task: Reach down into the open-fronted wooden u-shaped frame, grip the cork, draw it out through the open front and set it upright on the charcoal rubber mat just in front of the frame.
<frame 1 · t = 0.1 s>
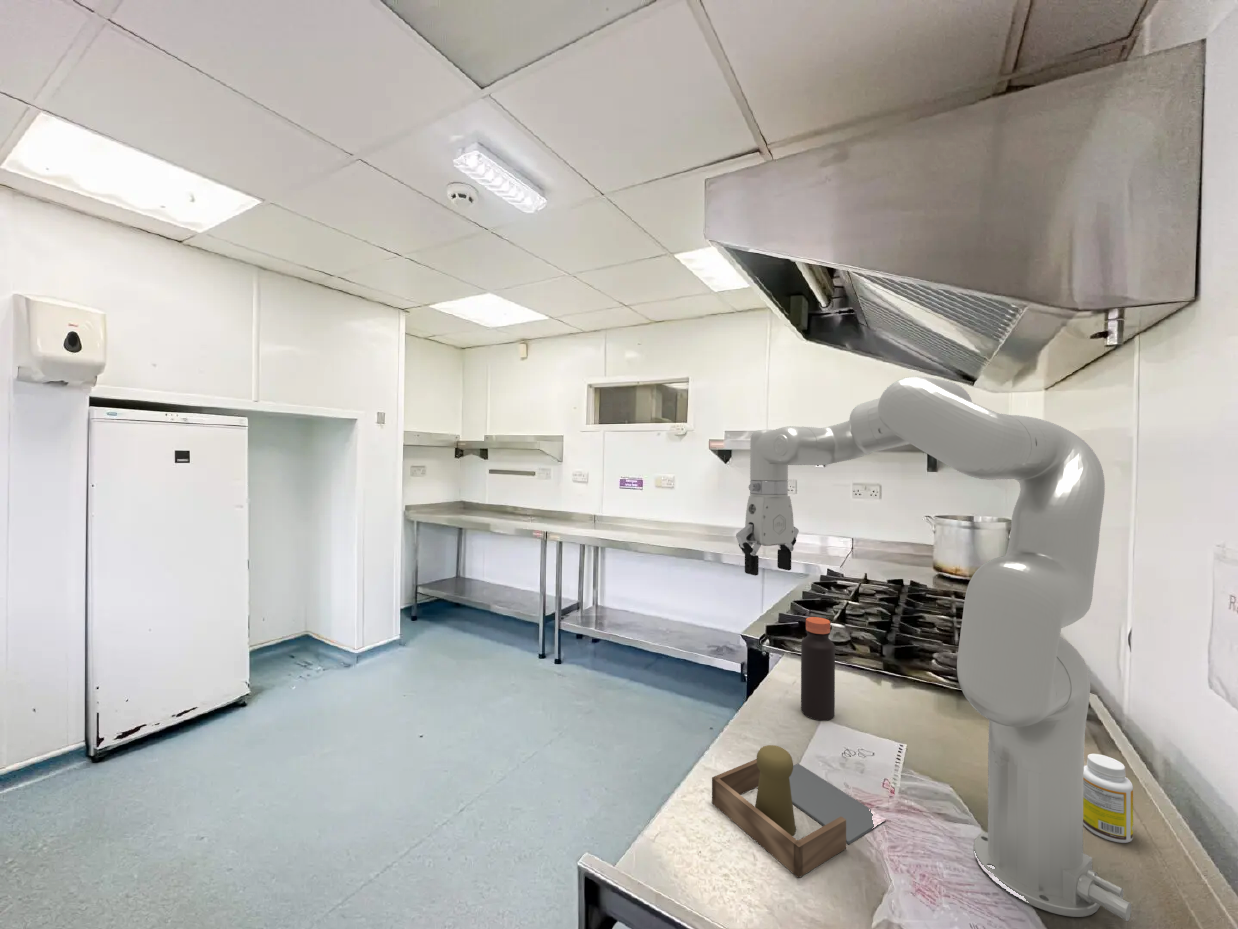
hand: (768, 571, 103), 31 cm above the counter, fingers open, 9 cm apart
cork: (774, 826, 74), on the counter
supplement bottle: (1105, 832, 73), on the counter
vinegar: (817, 714, 107), on the counter
charcoal mat: (820, 800, 79), on the counter
wooden u-shaped frame: (776, 823, 74), on the counter
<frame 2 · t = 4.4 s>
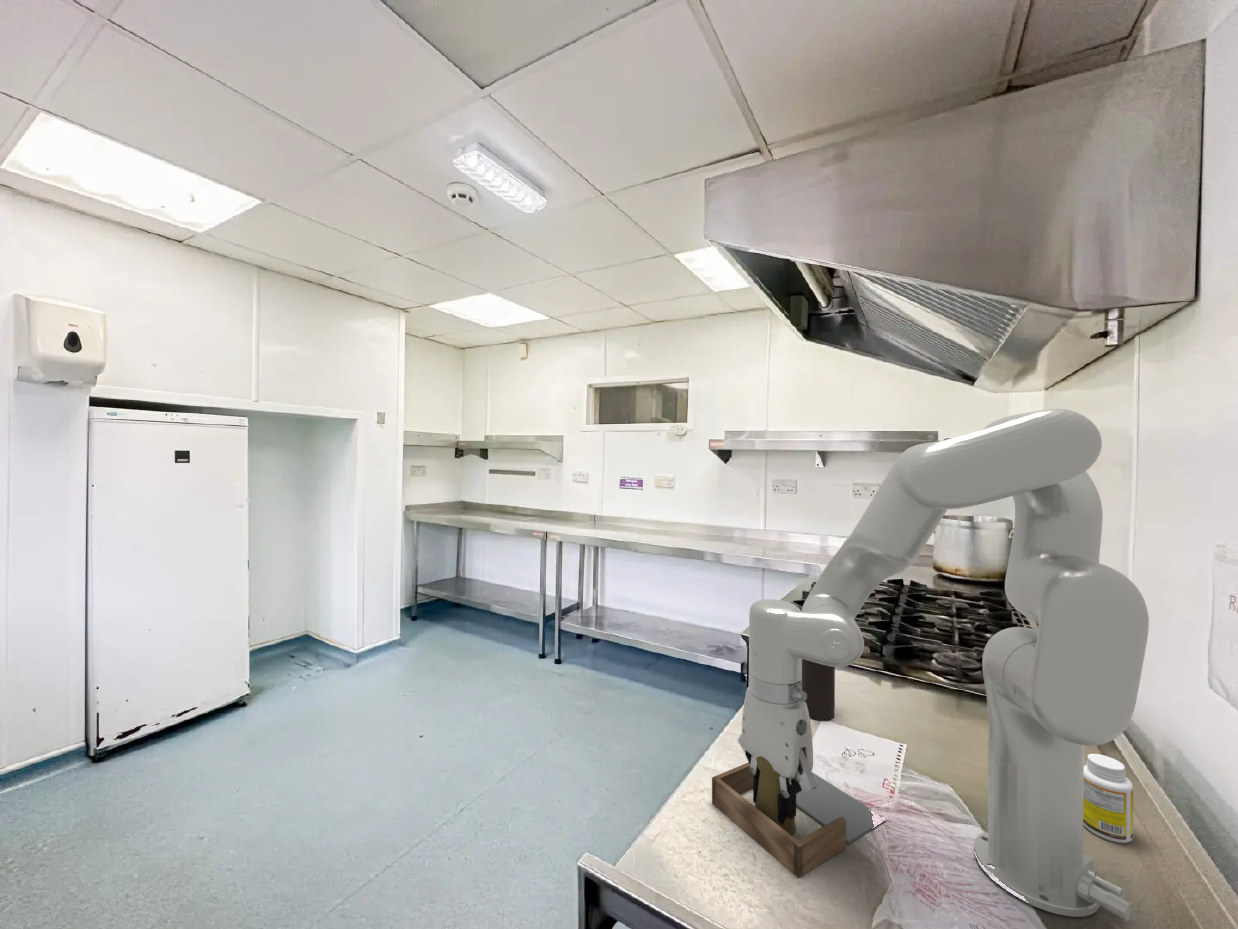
hand: (774, 808, 74), 2 cm above the counter, fingers closed on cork, 4 cm apart
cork: (774, 826, 74), on the counter, touching gripper
everything else where it was.
when the fingers open (4 cm above the counter, at t = 7.6 s): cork stays where it is, resting on charcoal mat.
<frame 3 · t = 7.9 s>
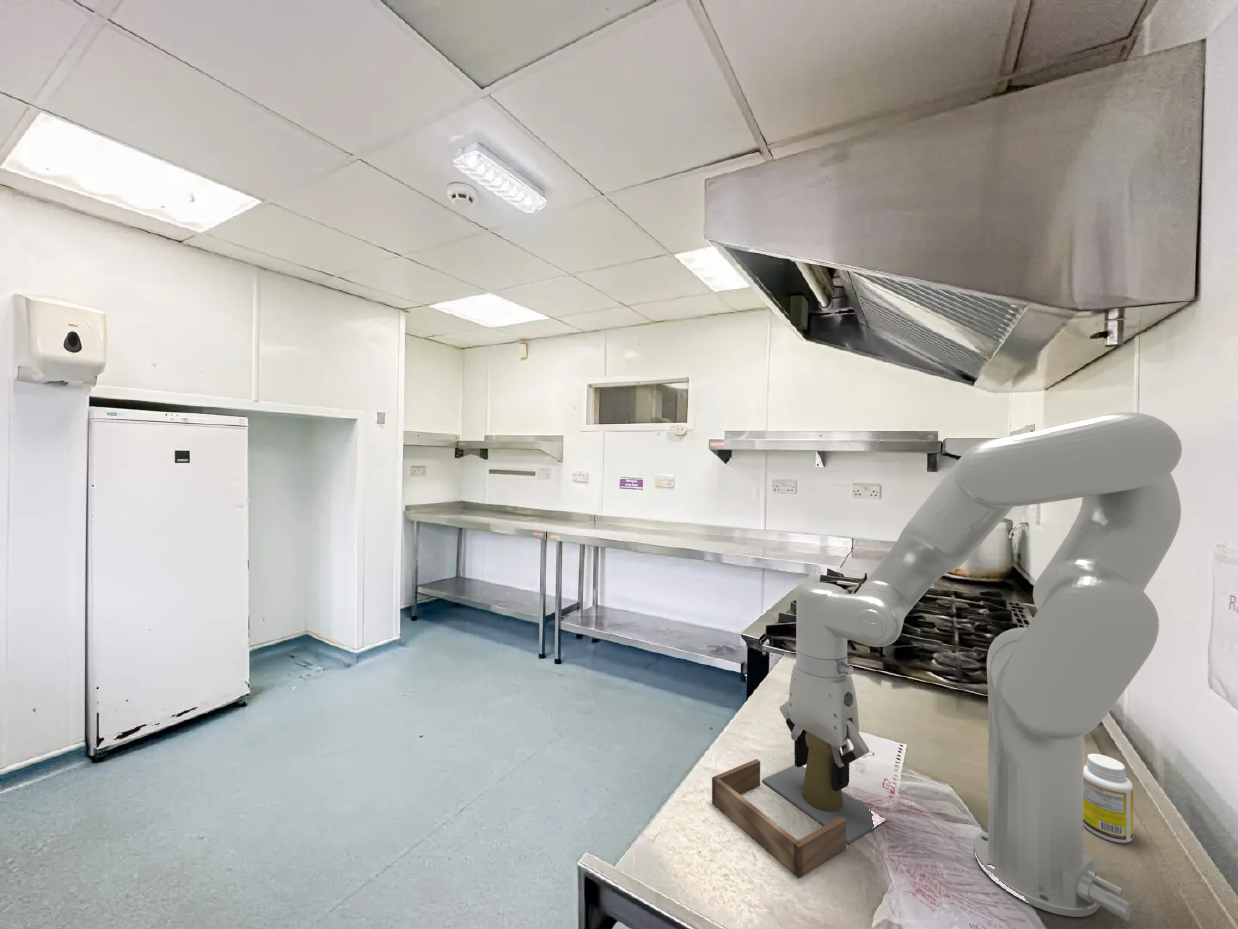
hand: (820, 774, 79), 4 cm above the counter, fingers open, 6 cm apart
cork: (822, 799, 79), resting on charcoal mat
everything else where it was.
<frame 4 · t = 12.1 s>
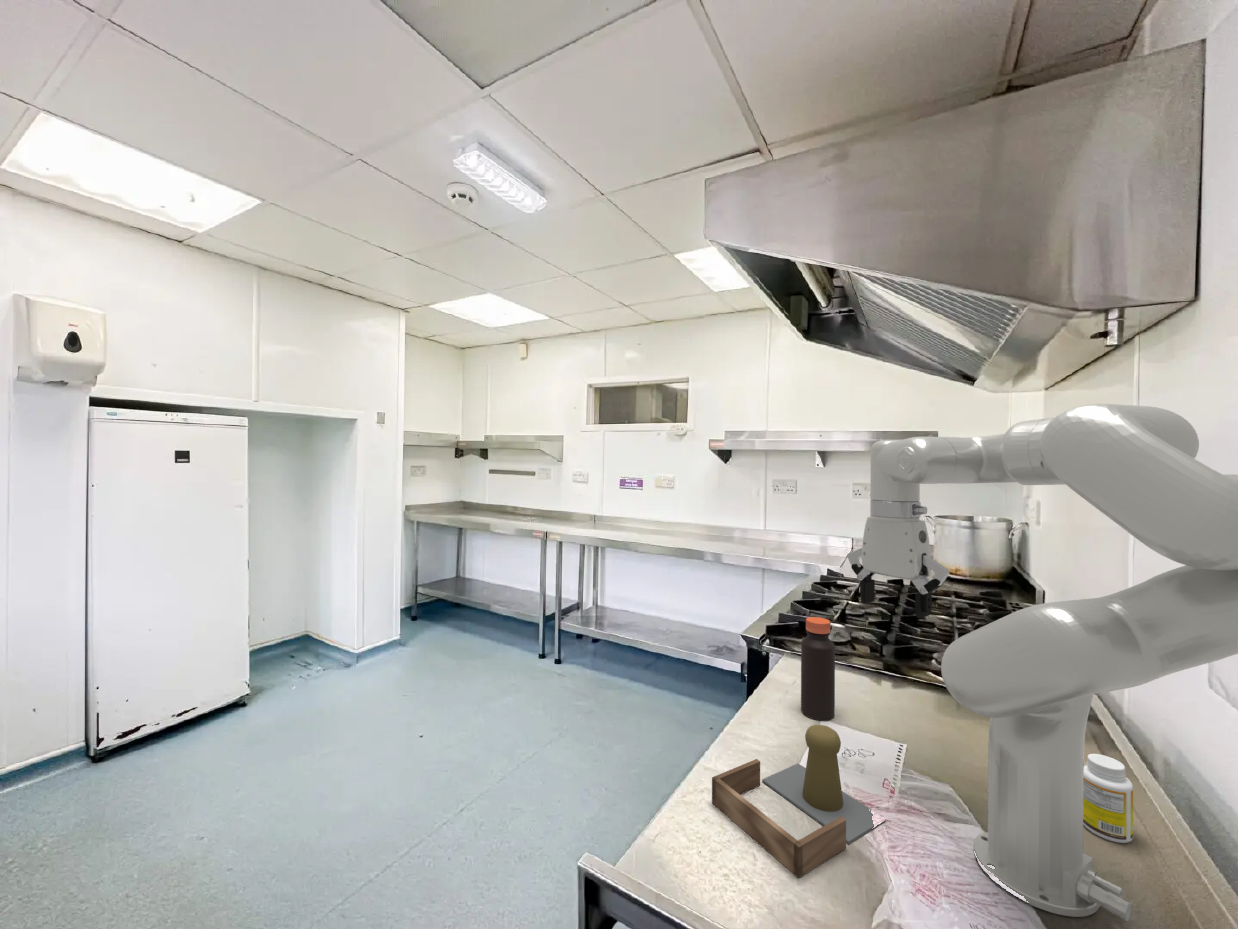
hand: (893, 609, 87), 28 cm above the counter, fingers open, 9 cm apart
nothing on the counter moved.
at the end: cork inside the target area on the charcoal mat (0.3 cm from its centre), point 0.2 cm above the charcoal mat's base; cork tilted 0°; the gripper is holding nothing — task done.
